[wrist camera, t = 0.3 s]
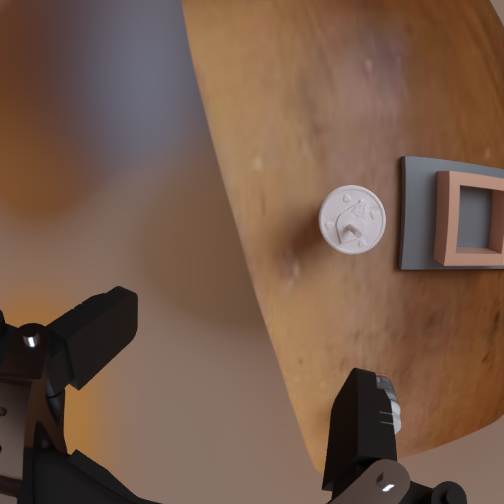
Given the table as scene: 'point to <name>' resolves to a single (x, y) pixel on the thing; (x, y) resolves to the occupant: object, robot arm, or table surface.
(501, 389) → the table surface
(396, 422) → the pill bottle
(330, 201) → the smoothie
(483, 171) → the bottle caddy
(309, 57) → the table surface
